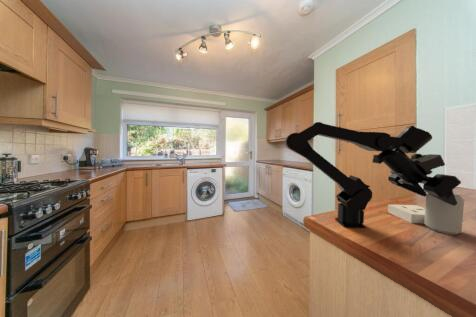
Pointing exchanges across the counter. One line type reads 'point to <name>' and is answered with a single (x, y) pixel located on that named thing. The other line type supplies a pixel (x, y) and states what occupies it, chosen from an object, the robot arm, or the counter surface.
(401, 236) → the counter surface
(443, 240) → the counter surface
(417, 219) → the socket block
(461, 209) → the can
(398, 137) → the robot arm
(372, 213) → the counter surface
